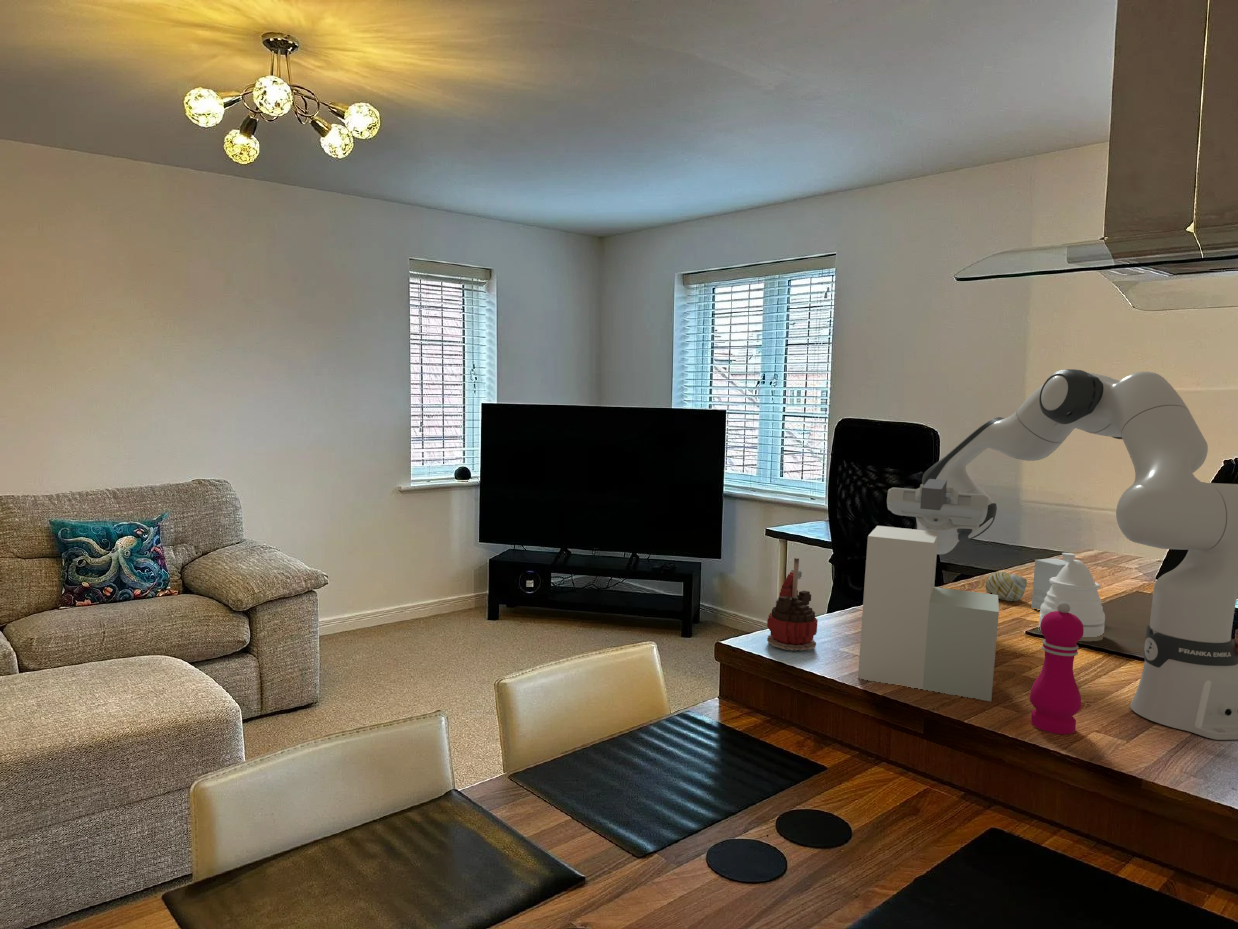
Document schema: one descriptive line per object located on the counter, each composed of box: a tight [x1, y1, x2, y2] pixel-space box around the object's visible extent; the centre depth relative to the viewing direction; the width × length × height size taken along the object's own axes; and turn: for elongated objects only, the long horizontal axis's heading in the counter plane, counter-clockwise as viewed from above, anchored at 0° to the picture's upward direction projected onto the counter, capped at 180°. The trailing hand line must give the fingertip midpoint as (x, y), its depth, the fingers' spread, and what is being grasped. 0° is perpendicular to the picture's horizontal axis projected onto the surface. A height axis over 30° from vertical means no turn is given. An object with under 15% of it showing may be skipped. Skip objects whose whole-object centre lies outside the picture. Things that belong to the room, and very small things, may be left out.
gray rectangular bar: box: [920, 479, 947, 510], centre depth 170 cm, size 22×4×4 cm, turn 156°
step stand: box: [857, 525, 1000, 702], centre depth 153 cm, size 14×22×26 cm, turn 66°
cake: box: [766, 557, 819, 651], centre depth 170 cm, size 11×9×18 cm
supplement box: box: [1031, 558, 1069, 610], centre depth 208 cm, size 7×7×13 cm
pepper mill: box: [1029, 602, 1084, 735], centre depth 132 cm, size 7×7×20 cm
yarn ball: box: [985, 571, 1028, 602], centre depth 220 cm, size 10×10×10 cm
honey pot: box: [1038, 552, 1106, 637], centre depth 189 cm, size 13×13×18 cm
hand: (936, 488), depth 175 cm, fingers closed on gray rectangular bar, 3 cm apart
